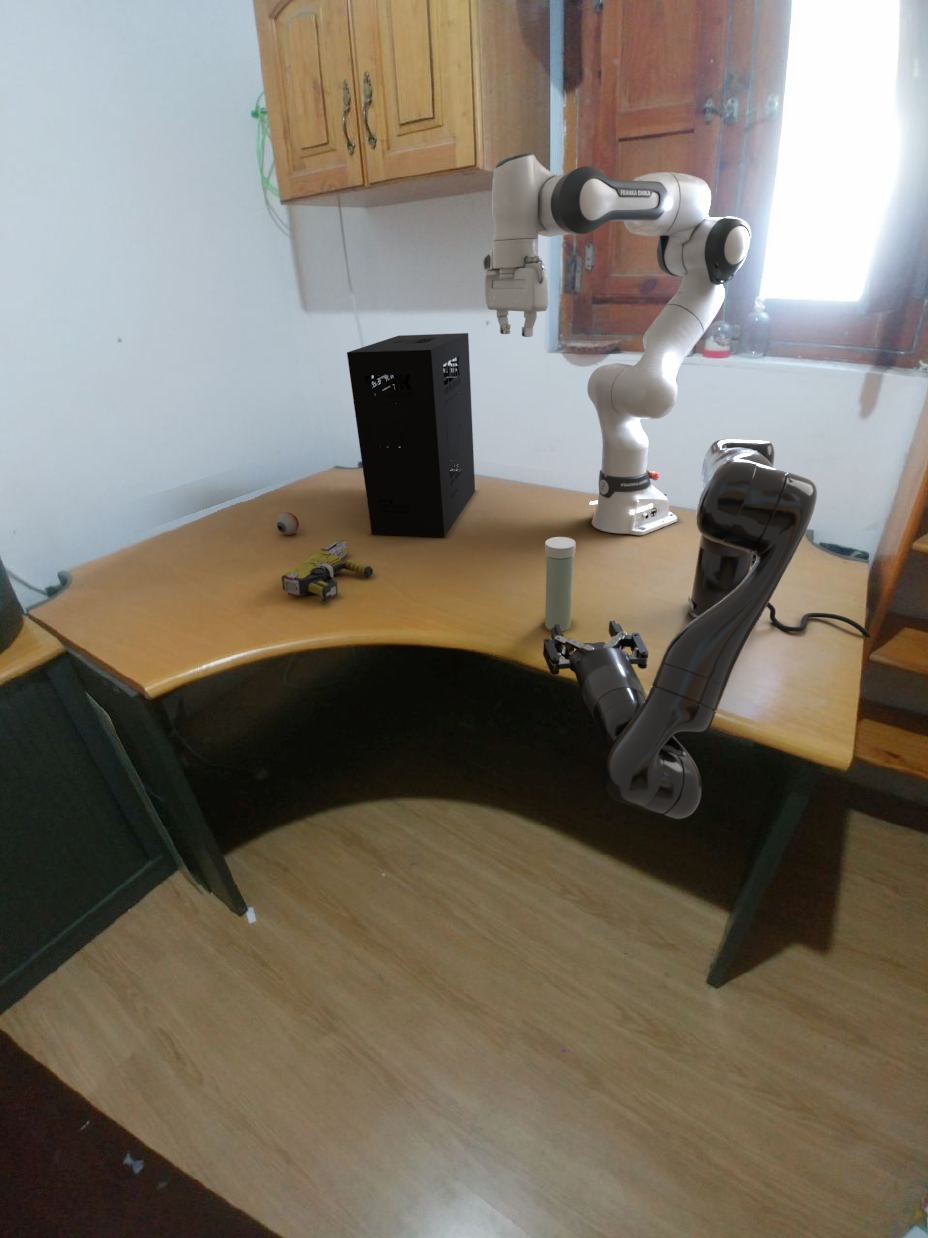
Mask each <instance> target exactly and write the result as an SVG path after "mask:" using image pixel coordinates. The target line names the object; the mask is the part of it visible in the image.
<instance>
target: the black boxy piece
mask: <svg viewBox="0 0 928 1238" xmlns="http://www.w3.org/2000/svg"><path fill="white" fill-rule="evenodd" d="M469 341H470V340H469V332H462V333H461V332H460V333H459V332H458V333H457V332H455V333H434V334H433V333H432V334H407V335H406V334H405V335H404V334H403V335H396V336H393V337H390V338H387V339H384V340H380V341H377V342H374V343H371V344H368V345H365V346H362V347H358V348H356V349H353V350H350V351H347V352H346V356H347V364H348V371H349V379H350V384H351V394H352V401H353V407H354V414H355V415H354V416H355V421H356V429H357V437H358V444H359V453H360V459H361V466H362V474H363V481H364V488H365V495H366V503H367V509H368V510H367V511H368V517H369V525H370V532H371V535H379V536H403V537H404V536H405V537H428V538H429V537H430V538H431V537H432V538H446V536H447V534H448V533H449V531H450V530H451V528H452V527H453V525H454V524H455V523H456V521H457V520H458V518H459V517H460V515H461V513H462V512H463V510H464V509H465V507H466V506H467V504H468V503H469V501H470V500H471V499H472V497H473V495H474V494H475V492H476V482H475V480H476V477H475V459H474V457H475V455H474V432H473V412H472V410H473V409H472V388H471V387H472V386H471V367H470V366H471V365H470V364H471V363H470V344H469V343H470V342H469ZM449 363H450V364H449Z"/></svg>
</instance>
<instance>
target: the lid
mask: <svg viewBox="0 0 928 1238" xmlns="http://www.w3.org/2000/svg"><path fill="white" fill-rule="evenodd" d="M544 544H545V545H544V551H545V552H544V554H545V556H546V557H547V556H549V557H551V558H556V559H565V558H570V557H572V556H573V557H574V556H575V554H576V541H575V540H574V539H572V538H571V537H566V536H555V537H550V538H548V539H546V540H545V542H544Z"/></svg>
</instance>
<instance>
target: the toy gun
mask: <svg viewBox="0 0 928 1238" xmlns="http://www.w3.org/2000/svg"><path fill="white" fill-rule="evenodd" d="M345 548H348V543H347V542H346V541H343V540H342V541H341V540H339V539H338V540H335V541H334V542H333V543H331V544H330V545H327V546H326V547H325V548H321V549H320V550H318V551H317V552H316V553H314V554H312V555H311V556H310V557H307V559H305V560H304V561H302V562H300V563H299V564H298V565H296V566H294V567H293V568H291V569H290V570H288V571H287V572H285V573H284V574H282V576H281V585H282V586H281V587H282V590H283V591H284V592H285V593H287V596H292V597H295V596H302V597H303V596H307V595H310V594H315V595H318V596H320V597H322V601H323V602H325V603H327V602H328V601H330V600H332V599H333V598H335V597H337V596H338V594H339V593H338V582H337V581H336V580H334V578H335V577H334V575H336V574H337V573H340V572H342V571H343V570H346V571H349V572H353V573H355V574H358V575H361V576H364V577H366V578H370V577H372V576H373V575H374V569H373V567H372V566H370V565H365V564H361V563H359V562H357V561H352V560H349V559H347V560H345V561H344V562H342V560H343V558H344V557H347V556H348V554H349V553H348V549H346V552H344V549H345Z"/></svg>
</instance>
